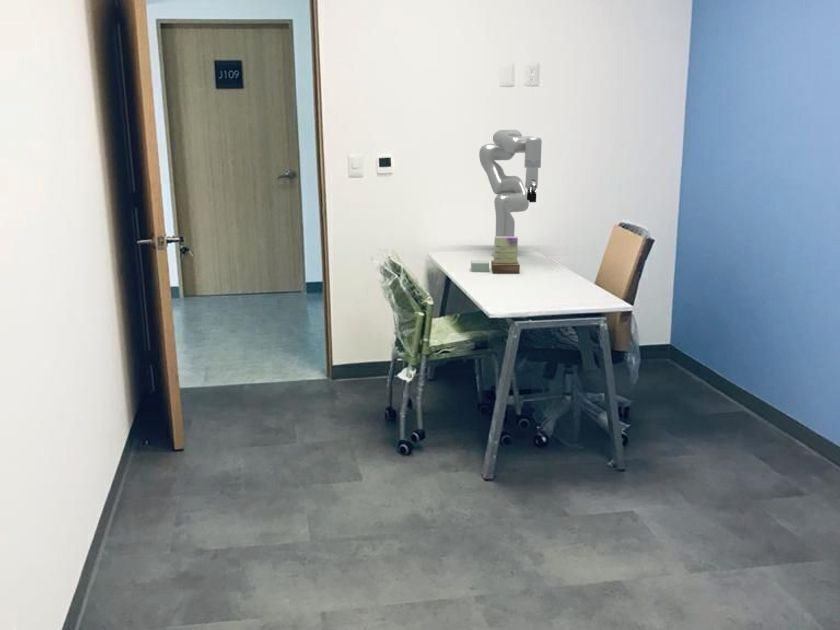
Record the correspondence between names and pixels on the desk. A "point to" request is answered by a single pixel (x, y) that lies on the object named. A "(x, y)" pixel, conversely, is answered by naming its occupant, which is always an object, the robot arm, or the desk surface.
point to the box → (505, 249)
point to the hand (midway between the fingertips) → (531, 201)
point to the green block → (479, 266)
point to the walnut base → (505, 268)
